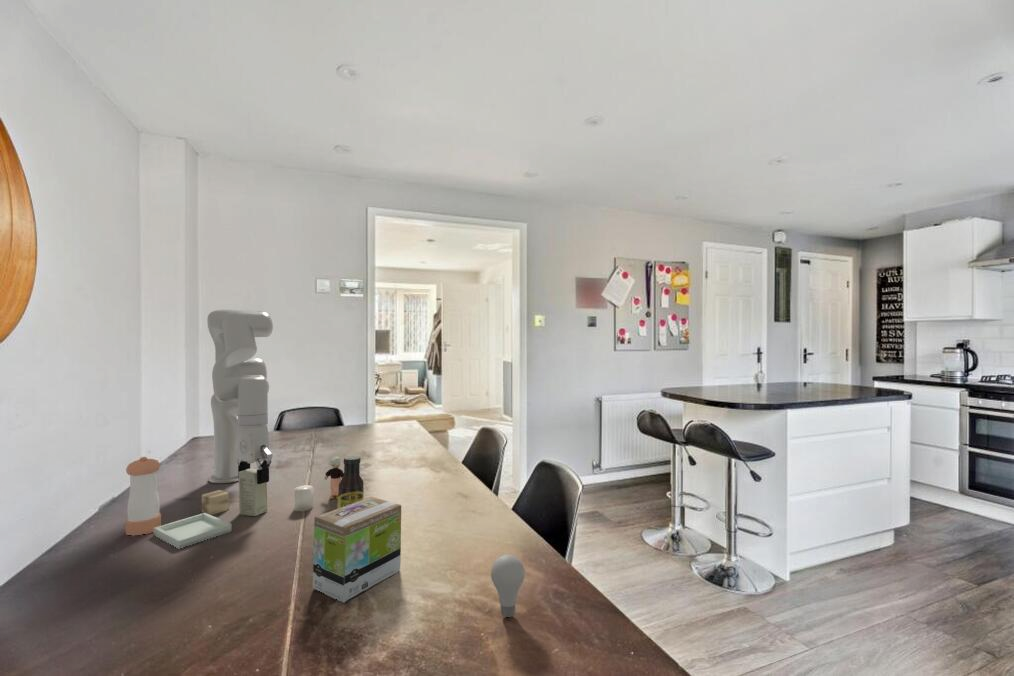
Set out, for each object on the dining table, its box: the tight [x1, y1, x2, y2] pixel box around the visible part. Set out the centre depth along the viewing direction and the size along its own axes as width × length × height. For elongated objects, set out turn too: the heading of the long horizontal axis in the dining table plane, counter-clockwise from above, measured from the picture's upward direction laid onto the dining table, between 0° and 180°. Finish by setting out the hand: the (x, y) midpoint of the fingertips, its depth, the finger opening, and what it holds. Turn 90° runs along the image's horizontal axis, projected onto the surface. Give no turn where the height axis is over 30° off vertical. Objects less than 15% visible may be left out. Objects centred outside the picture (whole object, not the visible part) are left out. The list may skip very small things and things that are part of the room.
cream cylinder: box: [294, 484, 314, 512], centre depth 137 cm, size 5×5×6 cm
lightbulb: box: [490, 554, 526, 618], centre depth 84 cm, size 6×6×11 cm
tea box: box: [312, 496, 402, 604], centre depth 97 cm, size 15×10×15 cm, turn 148°
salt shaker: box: [125, 456, 162, 536], centre depth 121 cm, size 7×7×19 cm
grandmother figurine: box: [323, 456, 344, 500], centre depth 146 cm, size 8×4×13 cm, turn 84°
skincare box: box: [238, 467, 268, 517], centre depth 133 cm, size 6×4×12 cm
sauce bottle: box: [336, 455, 365, 509], centre depth 118 cm, size 7×6×20 cm
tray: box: [153, 512, 232, 550], centre depth 119 cm, size 14×12×2 cm
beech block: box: [201, 489, 230, 516], centre depth 135 cm, size 5×5×5 cm
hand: (253, 480), depth 133 cm, fingers open, 9 cm apart
